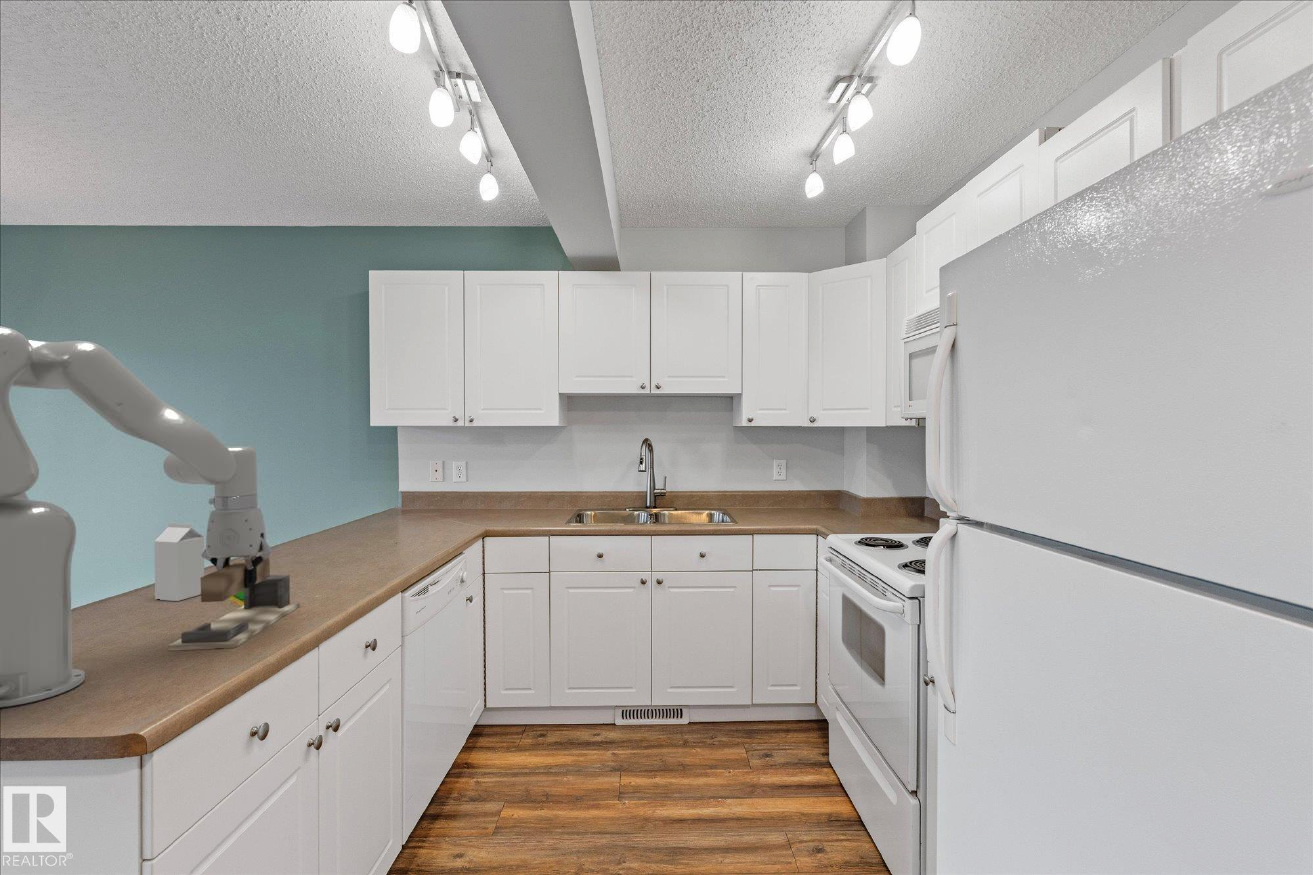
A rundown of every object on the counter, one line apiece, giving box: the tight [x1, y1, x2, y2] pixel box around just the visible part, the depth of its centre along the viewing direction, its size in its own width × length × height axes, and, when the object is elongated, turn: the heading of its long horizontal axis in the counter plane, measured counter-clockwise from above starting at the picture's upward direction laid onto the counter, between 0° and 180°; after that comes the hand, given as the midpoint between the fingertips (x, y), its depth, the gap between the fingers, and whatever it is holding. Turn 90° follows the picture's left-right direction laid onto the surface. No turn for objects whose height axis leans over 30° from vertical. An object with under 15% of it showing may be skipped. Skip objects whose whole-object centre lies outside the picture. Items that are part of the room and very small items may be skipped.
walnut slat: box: [200, 556, 271, 603], centre depth 127 cm, size 18×4×5 cm, turn 7°
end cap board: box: [167, 574, 301, 652], centre depth 129 cm, size 27×12×8 cm, turn 7°
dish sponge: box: [227, 590, 244, 607], centre depth 149 cm, size 7×14×2 cm, turn 52°
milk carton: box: [154, 522, 205, 602], centre depth 150 cm, size 7×7×19 cm
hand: (238, 585), depth 127 cm, fingers closed on walnut slat, 4 cm apart
